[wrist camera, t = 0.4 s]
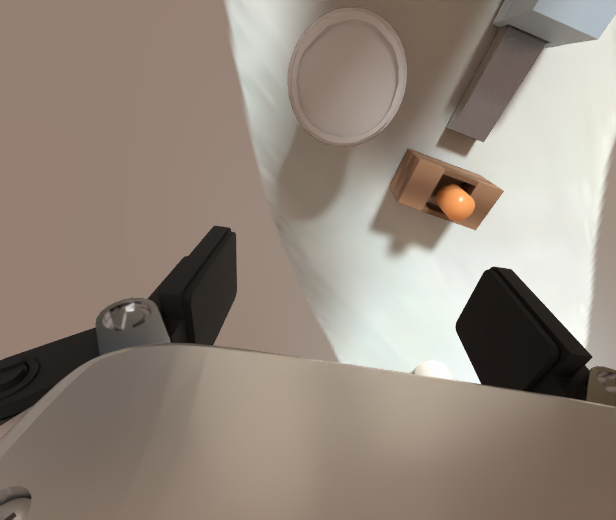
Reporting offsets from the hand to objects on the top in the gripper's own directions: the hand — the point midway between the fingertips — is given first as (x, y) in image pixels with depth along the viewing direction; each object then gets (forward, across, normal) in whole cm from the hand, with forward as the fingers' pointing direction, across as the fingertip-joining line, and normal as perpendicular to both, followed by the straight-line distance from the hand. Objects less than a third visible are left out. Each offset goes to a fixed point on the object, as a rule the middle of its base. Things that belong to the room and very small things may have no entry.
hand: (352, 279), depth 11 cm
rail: (+29, -15, -11) cm, 35 cm away
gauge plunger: (+23, -13, +3) cm, 27 cm away
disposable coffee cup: (+29, +1, -6) cm, 30 cm away
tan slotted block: (+29, -13, +3) cm, 32 cm away
